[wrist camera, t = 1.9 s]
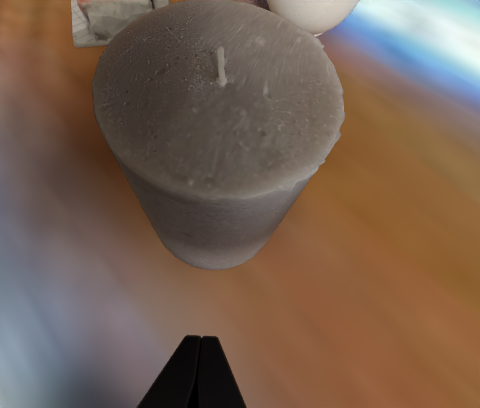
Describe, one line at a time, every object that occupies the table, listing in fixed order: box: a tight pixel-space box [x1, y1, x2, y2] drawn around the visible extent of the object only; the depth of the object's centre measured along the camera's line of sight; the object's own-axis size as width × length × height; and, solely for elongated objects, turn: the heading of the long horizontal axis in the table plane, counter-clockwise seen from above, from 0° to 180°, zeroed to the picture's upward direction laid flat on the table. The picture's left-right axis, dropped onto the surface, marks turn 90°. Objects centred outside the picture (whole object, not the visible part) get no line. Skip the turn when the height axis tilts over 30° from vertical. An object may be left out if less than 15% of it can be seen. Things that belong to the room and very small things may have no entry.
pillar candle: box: [92, 0, 345, 270], centre depth 17 cm, size 10×10×15 cm
